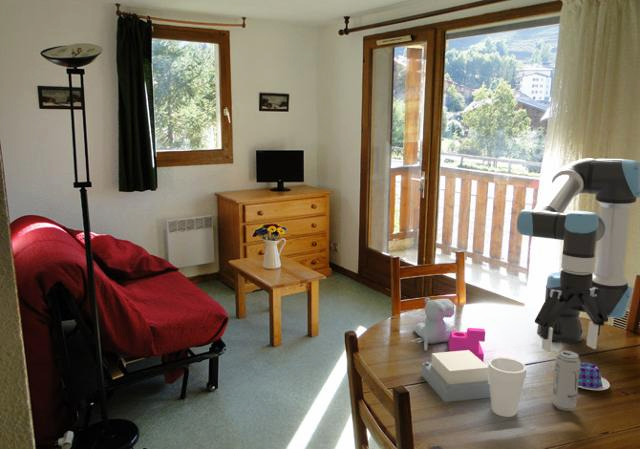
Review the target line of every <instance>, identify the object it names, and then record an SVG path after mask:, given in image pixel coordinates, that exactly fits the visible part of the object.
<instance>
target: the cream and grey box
mask: <svg viewBox="0 0 640 449" xmlns="http://www.w3.org/2000/svg"><path fill="white" fill-rule="evenodd" d="M421 377H422V378H423V379H424V380H425V381H426V382H427V384H428V385H430V387H431V388H432V390H433V391H434V392H435V393H436V394H437V395H438V396H439V397H440V399H441V400H442V401H443V402H444V403H450V402H460V401H469V400H478V399H488V398H491V395H490V381H489V372H488V365H487V364H486V363H485V362H484V361H481V360H480V359H479V358H478V357H476V356H475V355H474V354H473V353H472V352H471V351H469V350H464V351H452V352H450V351H444V352H443V351H442V352H433V353H431V362H429V361H425V362H424V363H422V366H421Z"/></svg>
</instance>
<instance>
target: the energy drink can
mask: <svg viewBox="0 0 640 449" xmlns="http://www.w3.org/2000/svg"><path fill="white" fill-rule="evenodd" d="M579 357H580V355H579V353H577V352H575V351H572V350H566V349H564V350H563V349H562V350H559V351H558V354H557V355H556V356H555V360H554V361H555V363H554V374H553V382H552V392H551V394H552V395H551V401H552V404H553V406H554V407H555V408H556V409H559V410H562V411H568V412H569V411H572V410H574V409H575V408H576V407H577V403H578V394H579V392H578V390H579V387H578V384H579V374H580V364H581V363H582V361H581V360H580V358H579Z"/></svg>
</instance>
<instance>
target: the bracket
mask: <svg viewBox="0 0 640 449" xmlns="http://www.w3.org/2000/svg"><path fill="white" fill-rule="evenodd" d="M480 342H482V343H483V342H484V343H485V342H486V329H485V328H477V327H467V329H466V331H458V332H455V331H451V332H450V336H449V340H448V342H447V345H448V349H449V351H448V352H452V351H464V350H469V351H471V352H472V353H473V354H474V355H475V356H476V357H478V358H479V359H480V360H481V361H482V362H484V359H485V358H484V357H485V356H484V355H485V353H484V352H483V347H482V346H481V343H480Z"/></svg>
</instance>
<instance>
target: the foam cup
mask: <svg viewBox="0 0 640 449" xmlns="http://www.w3.org/2000/svg"><path fill="white" fill-rule="evenodd" d="M487 366H488V372H489V381H490V395H491V397H490V406H491V411H492V412H493V413H494V414H495V415H497V416H500V417H504V418H506V417H507V418H511V417H515V416H516V415H517V412H518V409H519V404H520V399H521V395H522V392H523V391H522V390H523V388H524V383H525V380H526V377H527V376H526V375H527V365H525V363H524V362H522V361H519V360H517V359H515V358H510V357H504V356H501V357H500V356H499V357H493V358H491V359H488V365H487Z"/></svg>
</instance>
